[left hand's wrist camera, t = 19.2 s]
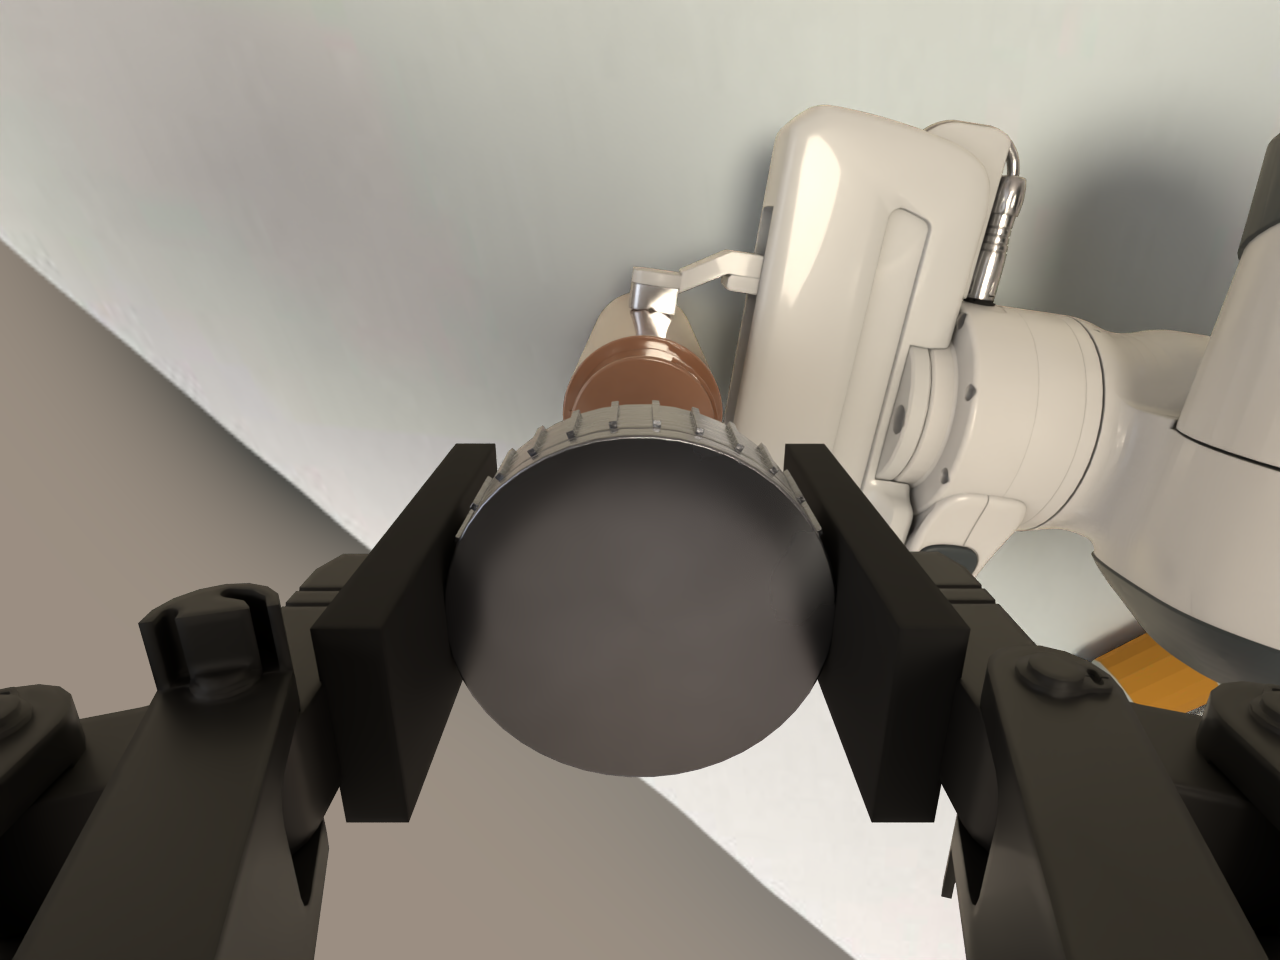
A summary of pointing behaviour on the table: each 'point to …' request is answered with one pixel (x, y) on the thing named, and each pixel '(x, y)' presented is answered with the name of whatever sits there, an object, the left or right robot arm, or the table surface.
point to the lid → (640, 592)
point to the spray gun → (1155, 676)
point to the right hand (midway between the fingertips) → (619, 368)
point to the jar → (642, 364)
